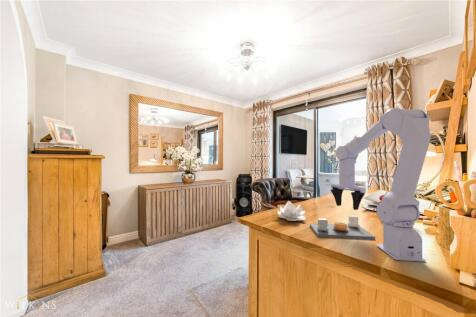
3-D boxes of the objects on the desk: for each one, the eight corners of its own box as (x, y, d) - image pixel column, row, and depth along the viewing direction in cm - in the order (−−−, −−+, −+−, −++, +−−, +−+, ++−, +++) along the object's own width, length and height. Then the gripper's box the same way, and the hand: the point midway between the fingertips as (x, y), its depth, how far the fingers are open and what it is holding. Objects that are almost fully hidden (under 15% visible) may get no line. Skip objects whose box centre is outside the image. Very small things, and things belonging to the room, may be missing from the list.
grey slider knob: (328, 230, 75) (328, 220, 75) (318, 230, 75) (318, 220, 75) (326, 228, 77) (326, 218, 77) (317, 228, 78) (317, 218, 78)
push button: (348, 230, 74) (348, 226, 74) (336, 230, 75) (336, 225, 75) (344, 227, 78) (344, 222, 78) (332, 226, 79) (332, 222, 79)
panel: (375, 240, 70) (375, 236, 70) (317, 237, 73) (317, 233, 73) (358, 228, 82) (358, 225, 82) (309, 226, 85) (309, 223, 85)
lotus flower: (307, 217, 99) (307, 199, 99) (306, 226, 85) (306, 206, 85) (279, 214, 104) (279, 197, 104) (273, 222, 90) (273, 203, 90)
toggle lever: (359, 227, 79) (359, 217, 79) (350, 226, 80) (350, 216, 80) (356, 225, 82) (356, 215, 82) (347, 224, 82) (347, 215, 82)
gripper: (370, 175, 76) (370, 210, 76) (337, 173, 90) (338, 203, 89) (359, 176, 73) (359, 212, 73) (327, 174, 87) (327, 204, 86)
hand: (346, 207), depth 81 cm, fingers open, 7 cm apart
